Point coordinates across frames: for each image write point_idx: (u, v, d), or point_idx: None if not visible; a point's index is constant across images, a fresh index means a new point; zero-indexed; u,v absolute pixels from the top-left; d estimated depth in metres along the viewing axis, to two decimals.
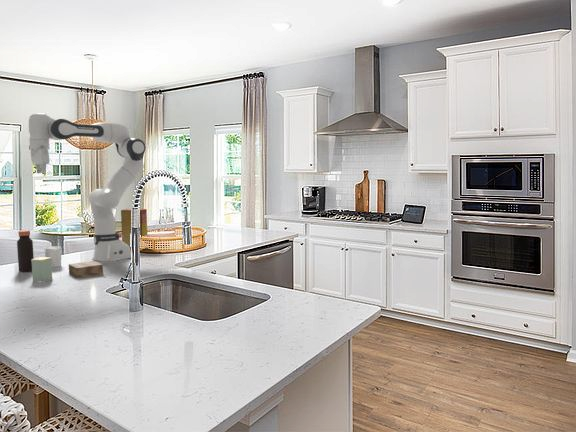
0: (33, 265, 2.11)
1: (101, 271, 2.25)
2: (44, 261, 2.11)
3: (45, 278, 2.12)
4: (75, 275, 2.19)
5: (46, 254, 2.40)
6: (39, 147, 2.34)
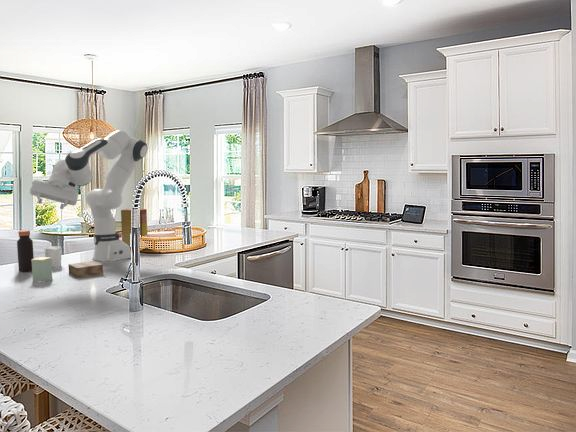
0: (33, 265, 2.11)
1: (101, 271, 2.25)
2: (44, 261, 2.11)
3: (45, 278, 2.12)
4: (75, 275, 2.19)
5: (46, 254, 2.40)
6: None
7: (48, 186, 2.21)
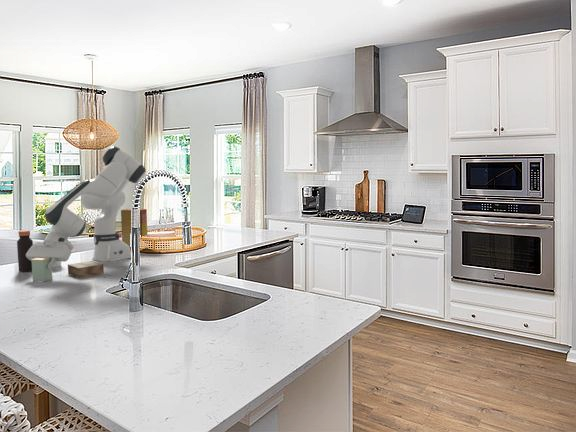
0: (33, 265, 2.11)
1: (102, 271, 2.26)
2: (44, 261, 2.11)
3: (45, 278, 2.12)
4: (76, 275, 2.19)
5: None
6: None
7: (42, 247, 2.18)
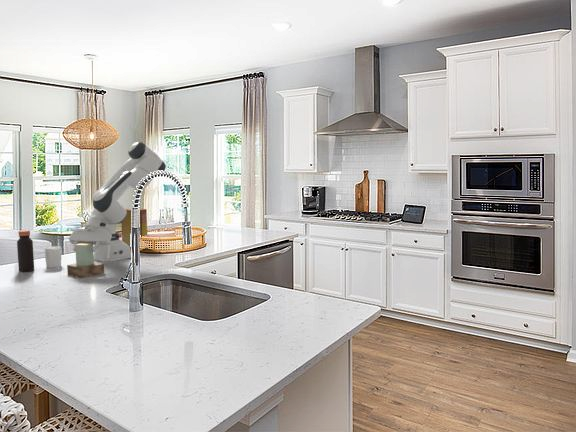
0: (76, 250, 2.23)
1: (102, 270, 2.27)
2: (87, 246, 2.23)
3: (88, 262, 2.24)
4: (78, 275, 2.19)
5: (46, 254, 2.40)
6: None
7: (84, 232, 2.30)
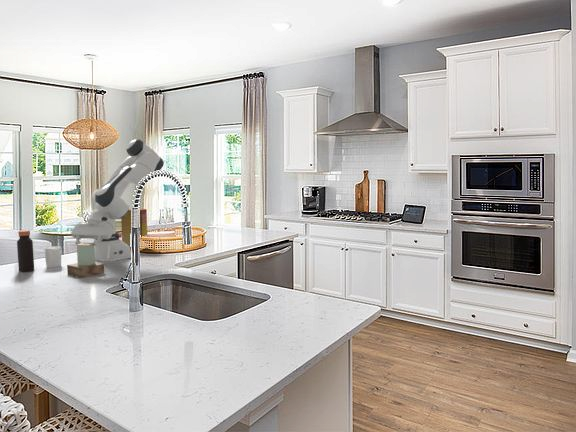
0: (78, 250, 2.23)
1: (102, 270, 2.27)
2: (89, 246, 2.23)
3: (90, 262, 2.24)
4: (78, 275, 2.19)
5: (46, 254, 2.40)
6: None
7: (86, 226, 2.32)
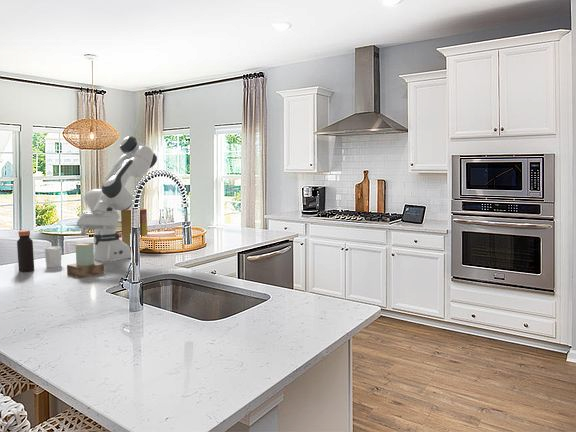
0: (77, 250, 2.23)
1: (102, 270, 2.27)
2: (88, 246, 2.23)
3: (88, 262, 2.24)
4: (77, 275, 2.19)
5: (46, 254, 2.40)
6: None
7: (91, 217, 2.36)
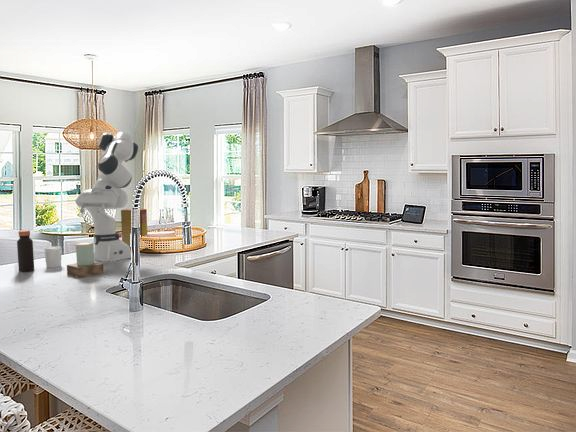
0: (77, 250, 2.23)
1: (102, 270, 2.27)
2: (88, 246, 2.24)
3: (89, 261, 2.24)
4: (77, 275, 2.19)
5: (46, 254, 2.40)
6: None
7: (90, 195, 2.35)
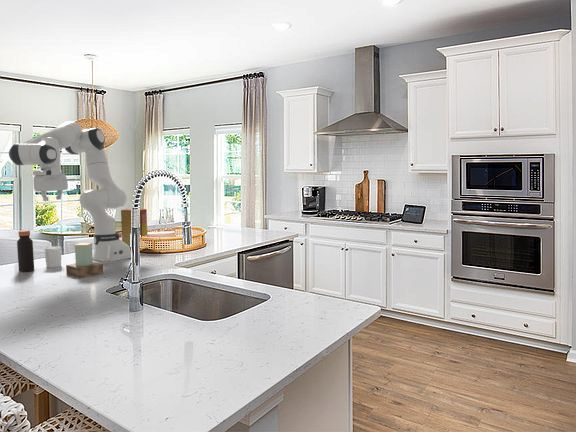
0: (76, 250, 2.22)
1: (101, 271, 2.27)
2: (87, 246, 2.23)
3: (88, 262, 2.24)
4: (77, 275, 2.19)
5: (46, 254, 2.40)
6: None
7: None
